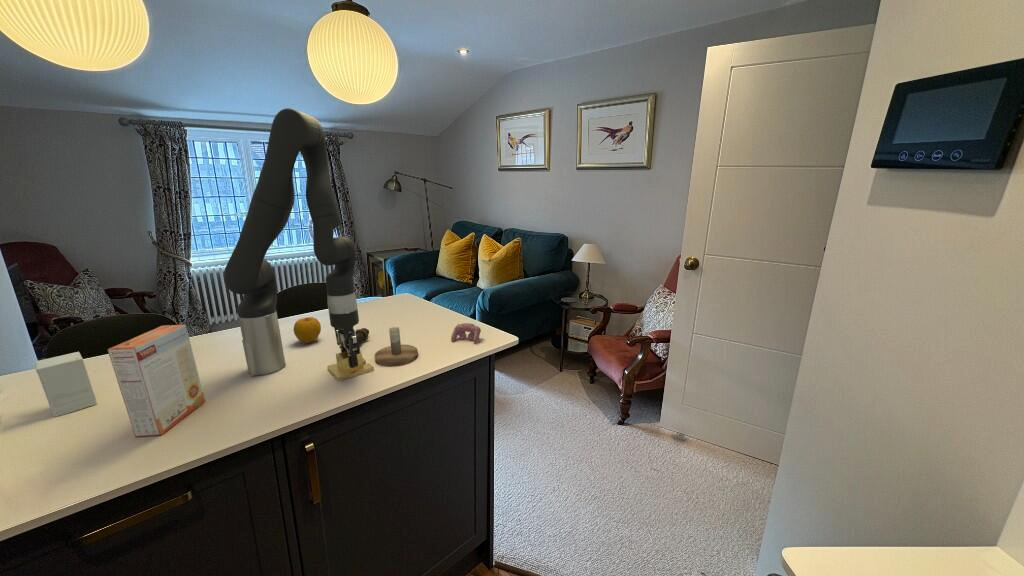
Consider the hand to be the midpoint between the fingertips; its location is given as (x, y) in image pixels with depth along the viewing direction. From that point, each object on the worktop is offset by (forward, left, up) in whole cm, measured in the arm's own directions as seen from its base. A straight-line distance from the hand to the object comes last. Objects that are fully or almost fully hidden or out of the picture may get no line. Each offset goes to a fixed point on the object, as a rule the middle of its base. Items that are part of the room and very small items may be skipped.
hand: (350, 363), depth 113 cm
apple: (-3, +32, -2) cm, 32 cm away
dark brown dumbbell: (+9, +18, -2) cm, 20 cm away
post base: (+14, -1, -2) cm, 14 cm away
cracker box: (-40, +3, -2) cm, 40 cm away
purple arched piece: (+38, -4, -2) cm, 39 cm away
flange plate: (0, 0, -2) cm, 2 cm away
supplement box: (-58, +27, -2) cm, 64 cm away
